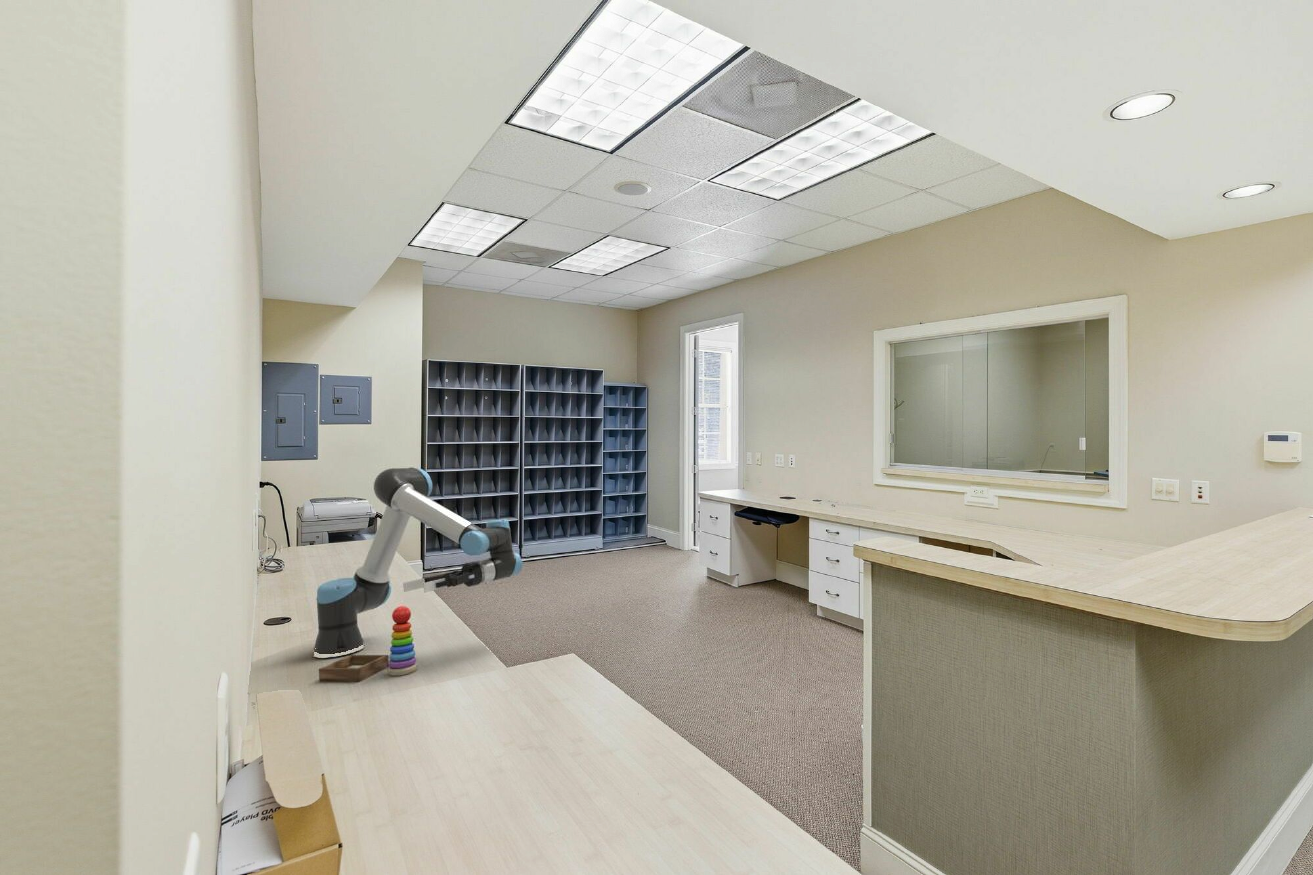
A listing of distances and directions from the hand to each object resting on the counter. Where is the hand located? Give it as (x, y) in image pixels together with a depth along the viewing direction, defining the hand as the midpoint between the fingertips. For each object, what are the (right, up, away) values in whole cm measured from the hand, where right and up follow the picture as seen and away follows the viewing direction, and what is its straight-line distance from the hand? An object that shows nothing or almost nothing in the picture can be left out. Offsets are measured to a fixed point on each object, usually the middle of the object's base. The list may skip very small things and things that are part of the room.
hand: (413, 587), depth 185 cm
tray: (-15, -24, -5) cm, 29 cm away
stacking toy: (-1, -23, -6) cm, 24 cm away
